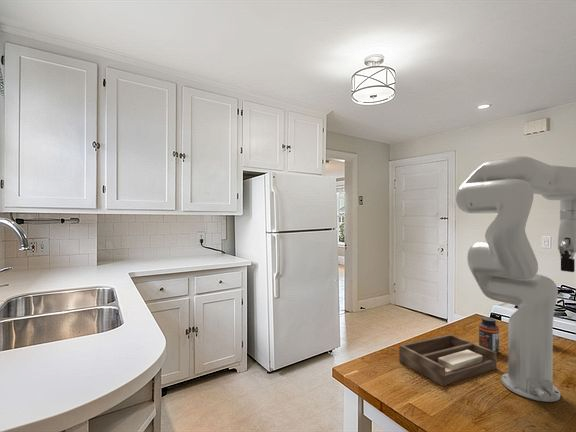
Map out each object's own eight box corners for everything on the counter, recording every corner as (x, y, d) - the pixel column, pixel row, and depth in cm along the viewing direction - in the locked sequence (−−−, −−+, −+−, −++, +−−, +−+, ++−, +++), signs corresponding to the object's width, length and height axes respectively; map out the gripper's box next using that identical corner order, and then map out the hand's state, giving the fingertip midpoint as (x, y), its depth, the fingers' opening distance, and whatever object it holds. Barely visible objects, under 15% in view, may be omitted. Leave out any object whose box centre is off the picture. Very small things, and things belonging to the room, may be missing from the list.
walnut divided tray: (496, 368, 94) (496, 352, 94) (442, 385, 84) (442, 367, 84) (450, 347, 108) (450, 333, 108) (399, 360, 98) (399, 345, 98)
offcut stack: (485, 369, 94) (485, 355, 94) (446, 382, 86) (446, 367, 86) (469, 362, 98) (469, 348, 98) (430, 374, 90) (430, 359, 91)
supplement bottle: (474, 348, 108) (474, 317, 108) (485, 345, 110) (485, 314, 110) (492, 355, 102) (491, 322, 102) (503, 352, 105) (502, 319, 105)
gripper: (574, 216, 103) (574, 266, 103) (546, 216, 96) (546, 270, 96) (604, 216, 96) (604, 270, 96) (576, 216, 89) (576, 274, 89)
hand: (575, 270), depth 96 cm, fingers open, 9 cm apart
